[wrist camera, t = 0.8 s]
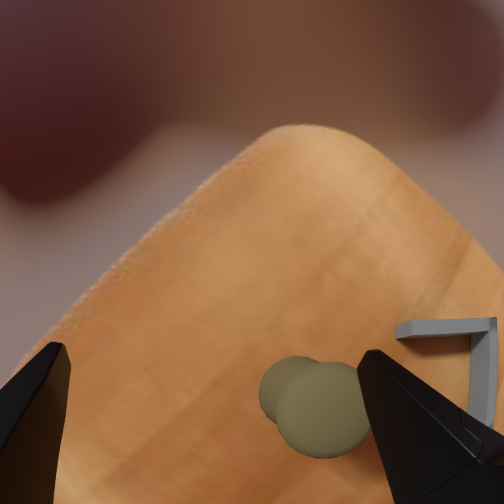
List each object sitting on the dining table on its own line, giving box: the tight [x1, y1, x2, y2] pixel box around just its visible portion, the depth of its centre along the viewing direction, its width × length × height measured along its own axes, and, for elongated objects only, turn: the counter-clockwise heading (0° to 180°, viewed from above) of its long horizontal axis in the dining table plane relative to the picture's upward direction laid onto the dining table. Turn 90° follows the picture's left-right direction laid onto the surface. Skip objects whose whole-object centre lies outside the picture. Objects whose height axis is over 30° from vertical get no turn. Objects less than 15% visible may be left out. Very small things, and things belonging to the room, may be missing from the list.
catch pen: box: [396, 317, 498, 429], centre depth 21 cm, size 11×10×3 cm
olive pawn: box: [259, 356, 371, 459], centre depth 18 cm, size 6×6×11 cm
